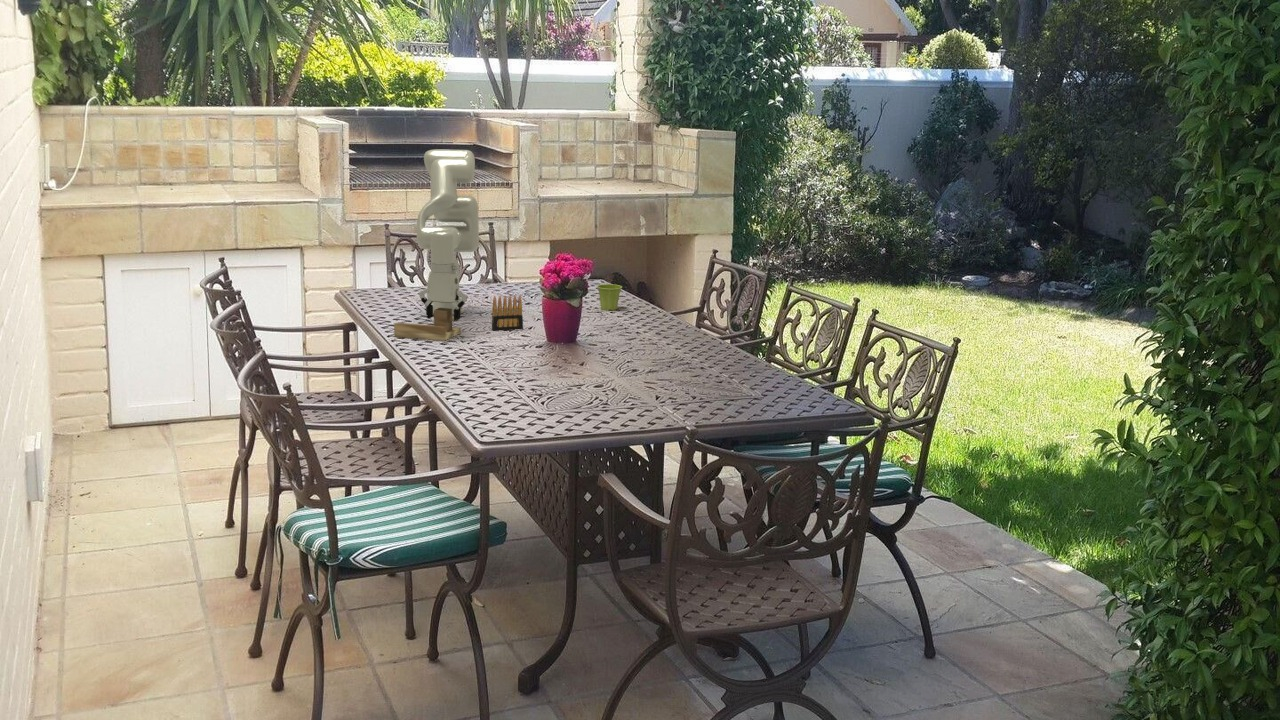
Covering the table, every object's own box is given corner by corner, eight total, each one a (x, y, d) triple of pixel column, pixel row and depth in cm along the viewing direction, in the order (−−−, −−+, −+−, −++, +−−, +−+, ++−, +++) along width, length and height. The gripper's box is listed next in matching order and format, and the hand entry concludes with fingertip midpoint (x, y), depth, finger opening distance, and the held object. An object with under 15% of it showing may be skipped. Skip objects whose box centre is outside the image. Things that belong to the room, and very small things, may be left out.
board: (411, 329, 434) (411, 316, 433) (460, 333, 429) (460, 320, 428) (394, 336, 422) (394, 323, 421) (444, 341, 417) (444, 327, 416)
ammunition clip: (521, 328, 440) (521, 294, 437) (523, 329, 438) (523, 295, 435) (491, 329, 436) (491, 295, 434) (492, 331, 435) (492, 296, 432)
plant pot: (626, 308, 479) (626, 286, 477) (612, 312, 471) (612, 289, 469) (605, 305, 484) (606, 283, 482) (591, 309, 476) (592, 286, 474)
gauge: (448, 323, 433) (448, 303, 432) (461, 324, 432) (460, 304, 430) (434, 331, 423) (433, 310, 421) (446, 332, 421) (446, 311, 420)
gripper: (471, 268, 421) (472, 318, 425) (423, 264, 425) (424, 314, 430) (462, 272, 414) (462, 323, 418) (413, 268, 418) (414, 319, 423)
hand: (443, 318), depth 424 cm, fingers open, 9 cm apart
